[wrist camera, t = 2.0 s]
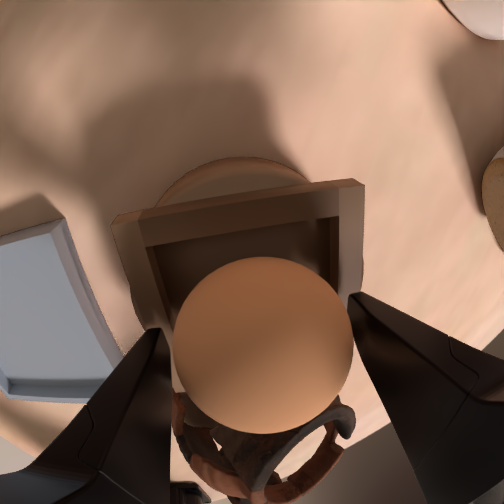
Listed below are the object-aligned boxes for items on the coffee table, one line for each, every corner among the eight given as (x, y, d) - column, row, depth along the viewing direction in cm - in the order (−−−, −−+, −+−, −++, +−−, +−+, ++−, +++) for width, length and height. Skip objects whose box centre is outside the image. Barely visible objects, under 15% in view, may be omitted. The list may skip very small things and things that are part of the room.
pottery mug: (147, 346, 15) (232, 449, 9) (284, 315, 21) (387, 364, 14) (169, 478, 18) (230, 558, 11) (269, 438, 23) (339, 493, 17)
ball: (320, 334, 11) (366, 437, 7) (196, 356, 11) (199, 471, 7) (320, 216, 9) (403, 313, 5) (161, 242, 9) (131, 363, 5)
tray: (137, 382, 16) (134, 402, 14) (14, 383, 15) (8, 398, 14) (65, 218, 11) (50, 232, 10) (-59, 256, 10) (-73, 269, 9)
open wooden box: (332, 311, 15) (361, 365, 12) (172, 339, 14) (167, 401, 11) (331, 146, 11) (379, 166, 8) (123, 178, 11) (89, 212, 7)
